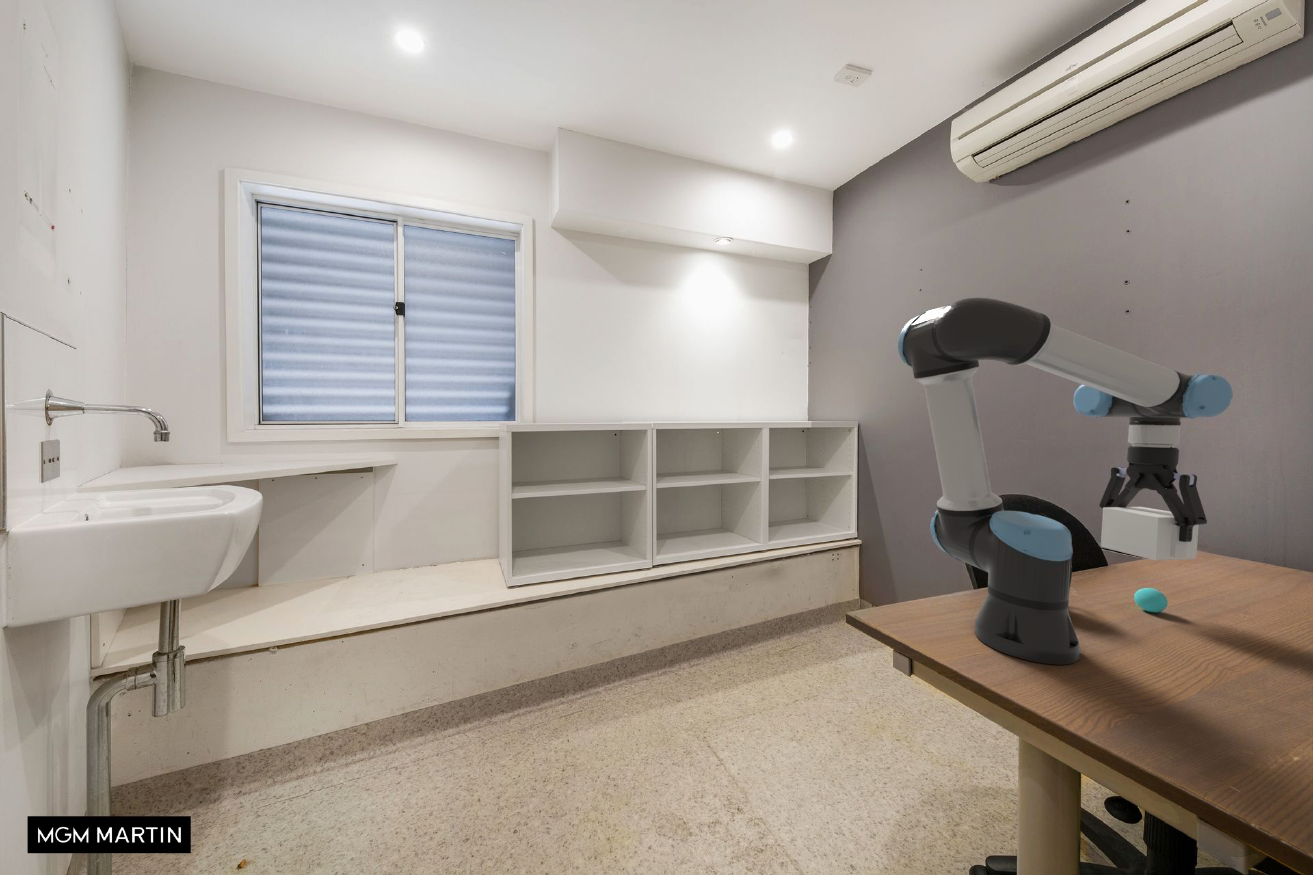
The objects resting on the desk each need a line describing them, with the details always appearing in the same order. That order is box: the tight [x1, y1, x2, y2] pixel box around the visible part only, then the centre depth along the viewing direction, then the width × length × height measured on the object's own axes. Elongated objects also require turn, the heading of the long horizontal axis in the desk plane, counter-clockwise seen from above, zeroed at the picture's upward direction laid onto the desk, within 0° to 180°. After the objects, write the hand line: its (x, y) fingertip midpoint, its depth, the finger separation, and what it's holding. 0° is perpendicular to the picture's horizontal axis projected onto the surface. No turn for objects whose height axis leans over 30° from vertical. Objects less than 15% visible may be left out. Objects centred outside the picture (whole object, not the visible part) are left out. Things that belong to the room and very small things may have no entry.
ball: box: [1133, 587, 1169, 613], centre depth 102 cm, size 5×5×5 cm
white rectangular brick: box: [1100, 506, 1200, 562], centre depth 101 cm, size 10×10×9 cm
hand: (1146, 548), depth 101 cm, fingers closed on white rectangular brick, 10 cm apart
